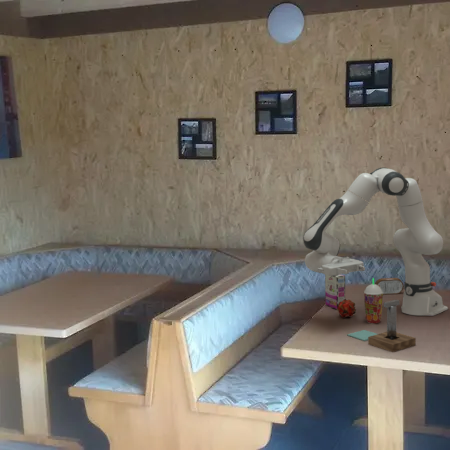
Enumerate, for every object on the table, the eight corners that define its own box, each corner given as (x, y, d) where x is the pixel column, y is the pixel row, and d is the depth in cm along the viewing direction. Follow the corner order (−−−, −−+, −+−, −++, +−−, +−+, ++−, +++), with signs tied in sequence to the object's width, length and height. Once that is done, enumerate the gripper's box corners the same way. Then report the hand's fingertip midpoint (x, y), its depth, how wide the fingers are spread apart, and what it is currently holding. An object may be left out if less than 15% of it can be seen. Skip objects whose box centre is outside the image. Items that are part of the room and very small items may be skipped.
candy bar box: (346, 308, 321) (345, 275, 319) (337, 310, 319) (336, 276, 317) (333, 303, 331) (333, 271, 329) (325, 305, 329) (324, 272, 327)
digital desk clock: (402, 292, 348) (402, 276, 347) (404, 294, 345) (404, 278, 344) (374, 294, 347) (374, 278, 346) (375, 295, 344) (375, 279, 343)
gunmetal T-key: (394, 341, 269) (394, 299, 267) (401, 343, 266) (401, 300, 264) (382, 345, 265) (382, 302, 263) (389, 347, 262) (388, 303, 260)
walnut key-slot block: (390, 337, 275) (390, 330, 274) (415, 345, 264) (415, 337, 263) (368, 344, 267) (368, 336, 267) (393, 352, 257) (393, 344, 256)
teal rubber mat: (364, 330, 285) (364, 329, 285) (381, 336, 277) (381, 335, 277) (347, 335, 279) (347, 334, 279) (364, 341, 271) (364, 340, 271)
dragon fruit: (349, 315, 314) (346, 326, 303) (335, 305, 315) (331, 315, 304) (360, 302, 311) (357, 313, 300) (345, 292, 311) (341, 302, 301)
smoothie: (360, 322, 298) (360, 278, 295) (370, 318, 304) (369, 275, 301) (377, 325, 292) (376, 281, 289) (386, 321, 298) (386, 277, 295)
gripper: (315, 261, 287) (337, 266, 275) (349, 256, 298) (372, 260, 287) (315, 276, 288) (337, 281, 276) (349, 269, 299) (372, 274, 287)
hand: (355, 270), depth 281 cm, fingers open, 8 cm apart
